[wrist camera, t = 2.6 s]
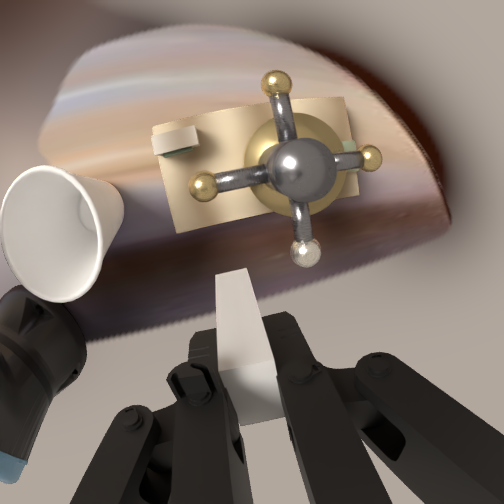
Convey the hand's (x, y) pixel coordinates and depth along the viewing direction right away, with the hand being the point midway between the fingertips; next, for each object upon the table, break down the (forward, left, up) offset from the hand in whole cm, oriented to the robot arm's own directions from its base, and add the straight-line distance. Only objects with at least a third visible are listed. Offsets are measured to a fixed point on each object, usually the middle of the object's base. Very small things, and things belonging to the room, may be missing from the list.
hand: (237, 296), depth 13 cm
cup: (-12, +5, -15) cm, 20 cm away
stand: (+5, +6, -15) cm, 17 cm away
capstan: (+6, +5, -12) cm, 15 cm away
